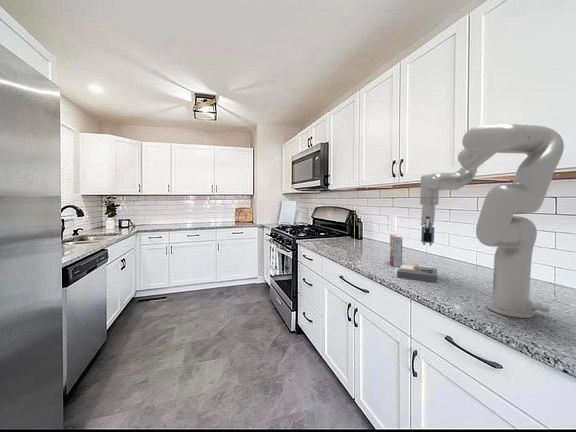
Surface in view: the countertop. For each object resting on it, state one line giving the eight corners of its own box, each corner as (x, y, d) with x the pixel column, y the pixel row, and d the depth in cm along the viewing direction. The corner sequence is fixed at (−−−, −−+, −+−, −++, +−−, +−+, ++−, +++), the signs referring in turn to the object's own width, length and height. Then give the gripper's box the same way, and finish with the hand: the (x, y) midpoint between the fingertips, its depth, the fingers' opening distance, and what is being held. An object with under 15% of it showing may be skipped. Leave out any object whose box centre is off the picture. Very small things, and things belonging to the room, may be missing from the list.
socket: (437, 274, 134) (437, 268, 133) (435, 282, 122) (435, 276, 122) (401, 270, 142) (402, 264, 142) (397, 277, 130) (397, 271, 130)
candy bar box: (389, 262, 160) (389, 234, 159) (398, 262, 159) (398, 234, 158) (392, 267, 149) (393, 237, 148) (402, 267, 148) (402, 237, 147)
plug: (433, 244, 129) (434, 226, 128) (433, 246, 125) (433, 228, 124) (421, 243, 131) (422, 226, 131) (421, 245, 127) (421, 227, 127)
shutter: (417, 267, 135) (417, 263, 135) (416, 271, 128) (416, 266, 128) (402, 266, 139) (402, 261, 139) (399, 269, 132) (399, 264, 132)
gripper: (421, 200, 135) (420, 237, 137) (418, 202, 121) (416, 242, 123) (439, 201, 132) (437, 238, 133) (437, 202, 117) (436, 244, 119)
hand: (427, 240), depth 128 cm, fingers closed on plug, 4 cm apart
